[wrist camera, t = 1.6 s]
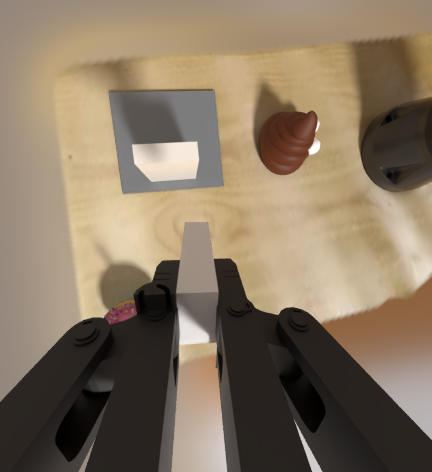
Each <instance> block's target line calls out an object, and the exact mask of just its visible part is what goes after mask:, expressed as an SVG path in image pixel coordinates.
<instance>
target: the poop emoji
mask: <svg viewBox="0 0 432 472" xmlns="http://www.w3.org/2000/svg"><path fill="white" fill-rule="evenodd" d="M319 126H320V123H319V120H318V118H317V115H316V113H315V112H314V111H310V112H308V113H307V114H306V113H303V112H279V113H276V114H274V115H272V116H271V117H270V118H269V119H268V120H267V121H266V122H265V123H264V125H263V127H262V129H261V133H260V145H261V147H260V150H261V157H262V160H263V163H264V164H265V166H266V167H267V168H268V169H269V170H270V171H271V172H273V173H275V174H278V175H287V174H291V173H293V172H295V171H296V170H297V169H298V168H299V167H300V166H301V165H302V164H303V162H304V160H305V159H306V158H307V157H308V155H312V154H314V153H316V152H317V151H318V150H319V149H320V146H321V144H320V141H319V140H318V139H314V137H315V132H316V131H317V130H318V128H319Z"/></svg>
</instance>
